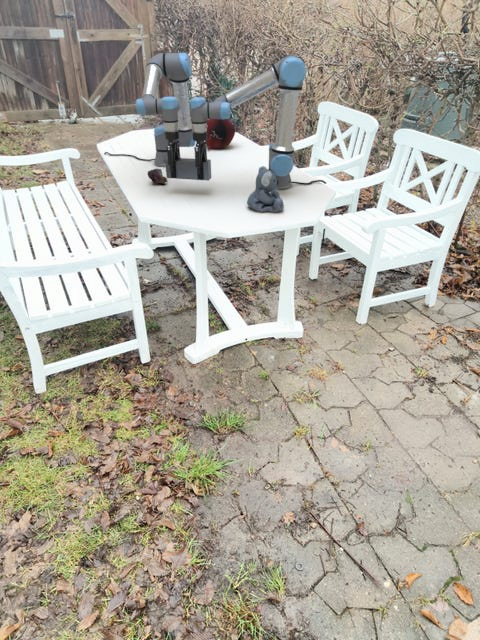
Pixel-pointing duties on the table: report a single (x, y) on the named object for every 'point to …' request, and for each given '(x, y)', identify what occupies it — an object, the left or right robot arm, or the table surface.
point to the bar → (189, 169)
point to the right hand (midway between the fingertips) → (202, 177)
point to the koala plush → (265, 193)
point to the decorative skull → (219, 133)
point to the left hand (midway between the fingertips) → (175, 176)
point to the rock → (157, 176)
